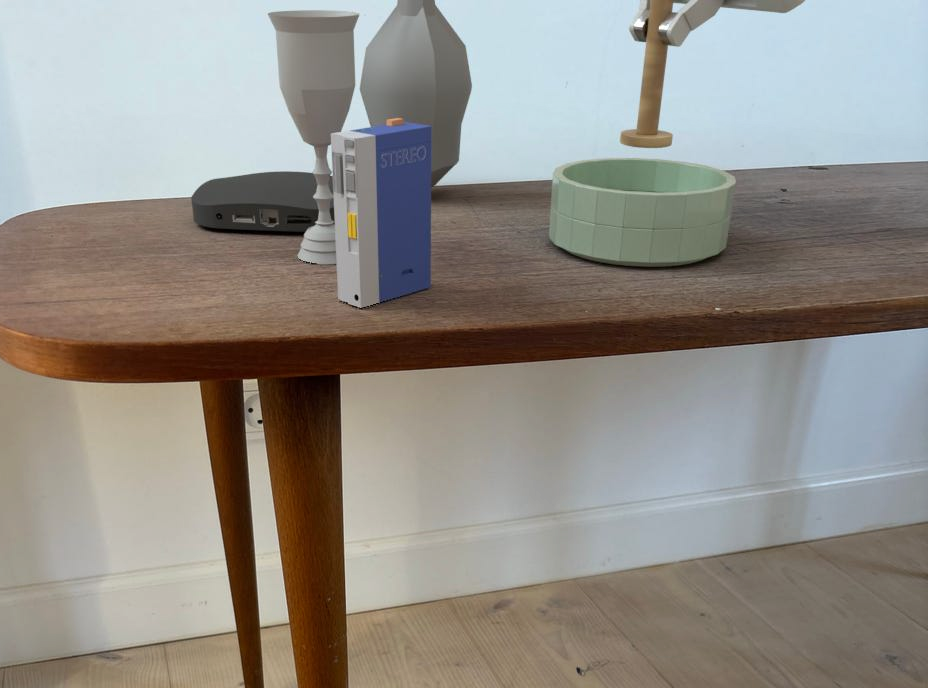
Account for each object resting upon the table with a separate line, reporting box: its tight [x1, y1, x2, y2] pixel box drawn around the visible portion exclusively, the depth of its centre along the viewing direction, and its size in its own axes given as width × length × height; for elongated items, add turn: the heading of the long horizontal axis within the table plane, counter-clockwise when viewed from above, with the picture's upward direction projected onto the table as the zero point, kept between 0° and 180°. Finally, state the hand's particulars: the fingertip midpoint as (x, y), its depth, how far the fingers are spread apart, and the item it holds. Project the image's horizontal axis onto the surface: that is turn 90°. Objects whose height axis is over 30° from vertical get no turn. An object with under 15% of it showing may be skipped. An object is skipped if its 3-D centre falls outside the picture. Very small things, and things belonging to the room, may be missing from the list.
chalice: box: [267, 9, 360, 265], centre depth 85 cm, size 7×7×18 cm
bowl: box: [548, 157, 737, 268], centre depth 93 cm, size 16×16×6 cm
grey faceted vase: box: [359, 0, 473, 188], centre depth 102 cm, size 11×11×30 cm
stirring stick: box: [619, 0, 674, 149], centre depth 86 cm, size 4×4×15 cm
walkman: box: [330, 118, 432, 308], centre depth 78 cm, size 8×3×12 cm, turn 138°
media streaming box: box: [190, 170, 335, 233], centre depth 101 cm, size 15×15×3 cm
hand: (652, 38), depth 85 cm, fingers closed on stirring stick, 2 cm apart
